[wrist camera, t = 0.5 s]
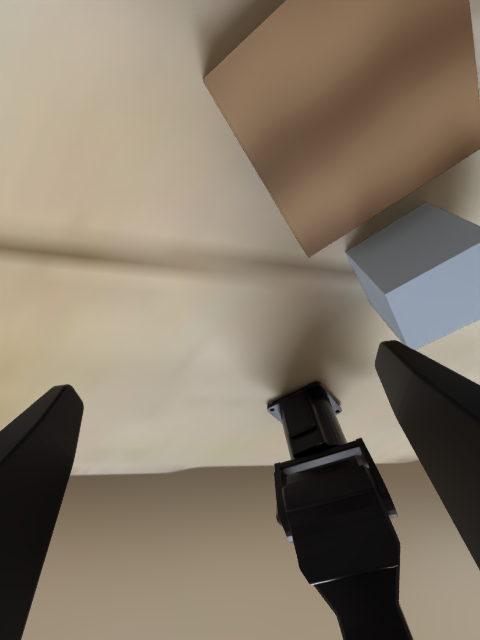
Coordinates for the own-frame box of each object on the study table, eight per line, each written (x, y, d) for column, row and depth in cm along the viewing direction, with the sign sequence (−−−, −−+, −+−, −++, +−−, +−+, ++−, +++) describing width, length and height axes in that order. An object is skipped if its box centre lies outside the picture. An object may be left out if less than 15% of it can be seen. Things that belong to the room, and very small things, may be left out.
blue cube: (441, 265, 23) (503, 307, 18) (370, 303, 24) (410, 352, 20) (425, 201, 20) (496, 233, 15) (344, 251, 21) (385, 294, 16)
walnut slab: (453, 140, 18) (484, 146, 16) (298, 242, 21) (308, 257, 19) (411, -115, 12) (452, -159, 10) (203, 81, 15) (202, 79, 13)
